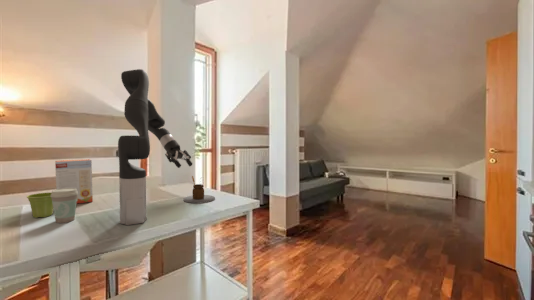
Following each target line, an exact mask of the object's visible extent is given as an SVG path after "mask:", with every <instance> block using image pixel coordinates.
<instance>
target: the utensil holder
mask: <svg viewBox="0 0 534 300" xmlns="http://www.w3.org/2000/svg"><path fill="white" fill-rule="evenodd" d="M191 179H192V182H193V189H192V195H193V199H197V200H198V199H203V198H204V195H205V188H204V183H205V181H204V180H201V181H200V180H199V181H198V182H199V184H198V183H197V184H196V183H195V178H194V176H193V175H191ZM201 179H204V177H201Z"/></svg>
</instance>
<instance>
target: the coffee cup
mask: <svg viewBox="0 0 534 300" xmlns="http://www.w3.org/2000/svg"><path fill="white" fill-rule="evenodd" d="M50 193H51V196H50V197H52V203H53V214H54V219H55V223H57V224H64V223H70V222H73V221H75V217H76V210H77V204H76V202H77V194H78V191H77V189H76V188H63V189H56V188H55V189H53V190H52V191H51V192H50Z"/></svg>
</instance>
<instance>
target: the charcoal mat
mask: <svg viewBox="0 0 534 300" xmlns="http://www.w3.org/2000/svg"><path fill="white" fill-rule="evenodd" d="M215 200H216V197H215V196H214V195H209V194H204V198H203V199H198V200H197V199H193V194H192V195H189V196H188V195H187V196H185V197H184V198H183V202H185V203H189V204H204V203H211V202H213V201H215Z"/></svg>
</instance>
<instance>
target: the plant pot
mask: <svg viewBox="0 0 534 300" xmlns="http://www.w3.org/2000/svg"><path fill="white" fill-rule="evenodd" d="M51 193H52V192H41V193H39V192H38V193H34V194H33V193H32V194H30V195H26V198H27V199H28V200H27V201H28V202H29V206H30V209H31V213H32V218H46V217H50V216H52V215H53V214H54V209H53V203H52V197H50V196H51Z"/></svg>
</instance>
